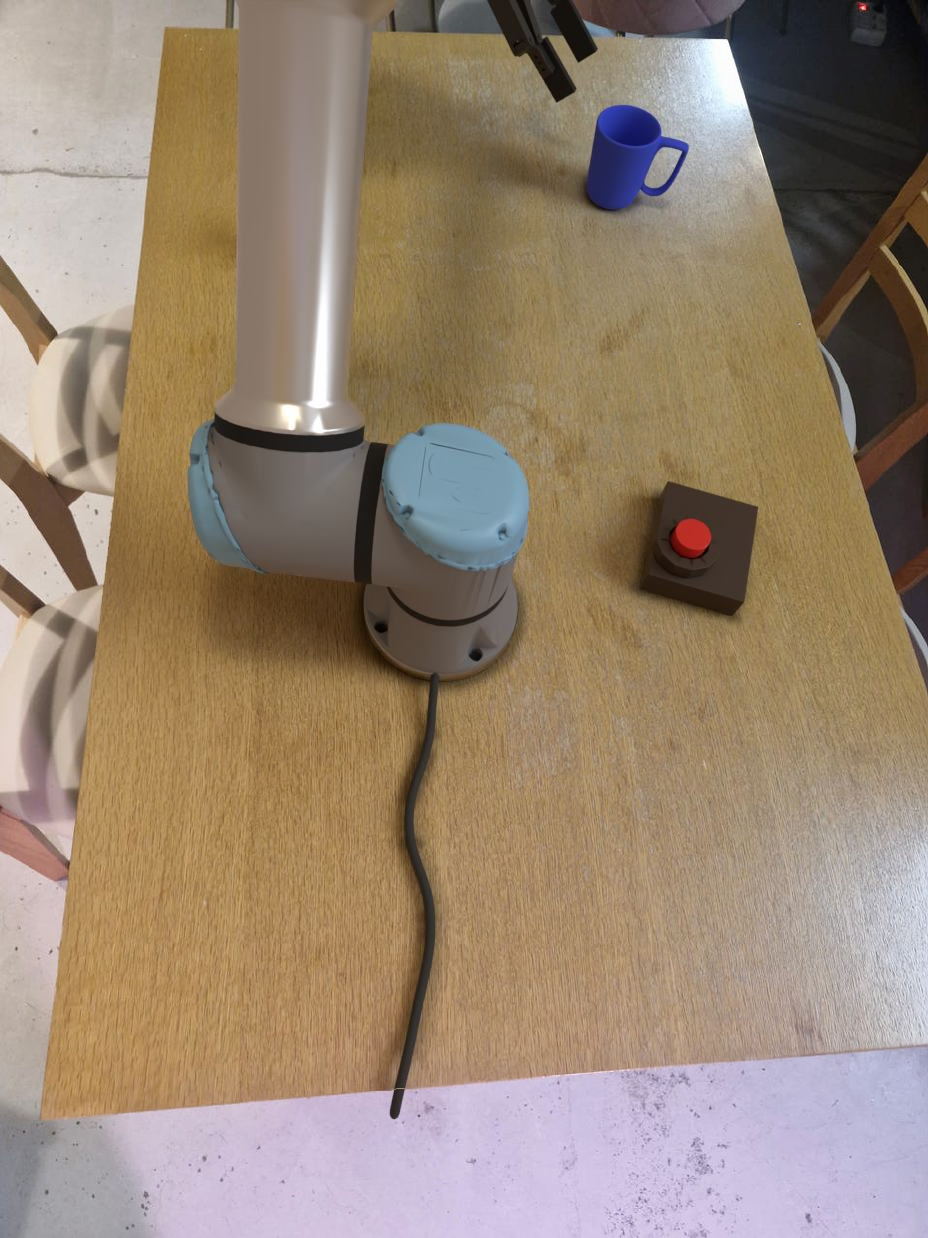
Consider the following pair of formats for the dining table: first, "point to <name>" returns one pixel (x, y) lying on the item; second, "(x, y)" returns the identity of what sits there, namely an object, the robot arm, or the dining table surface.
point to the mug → (627, 156)
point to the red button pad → (719, 567)
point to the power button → (690, 538)
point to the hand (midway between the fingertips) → (577, 75)
